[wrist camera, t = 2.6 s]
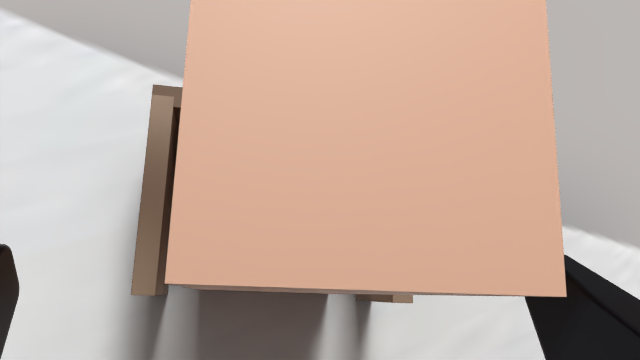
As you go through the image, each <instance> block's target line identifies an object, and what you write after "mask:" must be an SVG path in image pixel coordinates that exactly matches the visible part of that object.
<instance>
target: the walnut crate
mask: <svg viewBox="0 0 640 360" xmlns="http://www.w3.org/2000/svg"><path fill="white" fill-rule="evenodd" d="M182 91H183V88H182V87H172V86H162V85H153V90H152V100H151V109H150V119H149V128H148V137H147V147H146V156H145V166H144V175H143V184H142V194H141V203H140V213H139V222H138V232H137V241H136V250H135V260H134V269H133V279H132V288H131V295H151V296H156V295H168V285H169V284H165V274H166V263H167V252H168V241H169V231H170V220H171V209H172V198H173V188H174V177H175V166H176V156H177V145H178V134H179V123H180V113H181V102H182ZM356 300H359V301H375V302H391V303H413V295H389V294H356Z"/></svg>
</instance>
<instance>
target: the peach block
mask: <svg viewBox="0 0 640 360" xmlns="http://www.w3.org/2000/svg"><path fill="white" fill-rule="evenodd" d="M551 82H552V81H551V67H550V52H549V38H548V25H547V9H546V0H191V6H190V17H189V28H188V38H187V48H186V60H185V70H184V80H183V91H182V102H181V113H180V123H179V134H178V145H177V156H176V166H175V177H174V188H173V198H172V209H171V220H170V231H169V241H168V252H167V263H166V274H165V284H171V285H176V286H182V287H188V288H193V289H199V290H230V291H261V292H292V293H323V294H389V295H462V296H534V297H567V295H566V280H565V266H564V252H563V238H562V223H561V209H560V195H559V181H558V166H557V152H556V139H555V124H554V109H553V97H552V96H553V95H552V83H551Z"/></svg>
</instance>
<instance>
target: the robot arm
mask: <svg viewBox="0 0 640 360" xmlns="http://www.w3.org/2000/svg"><path fill="white" fill-rule="evenodd" d="M564 266H565V280H566V295H567V297H534V296H525V300H526V303H527V306H528V309H529V312H530V315H531V318H532V321H533V324H534V327H535V329H536V332H537V335H538V338H539V341H540V344H541V347H542V350H543V353H544V356H545V359H546V360H640V300H639V299H637V298H636V297H634V296H632V295H631V294H629V293H628V292H626V291H624V290H623V289H621V288H619V287H618V286H616V285H614V284H613V283H611V282H609V281H608V280H606V279H605V278H603V277H601V276H600V275H598V274H596V273H595V272H593V271H591V270H590V269H588V268H586V267H585V266H583V265H581V264H580V263H578V262H577V261H575V260H573V259H572V258H570V257H568V256H567V255H564ZM18 296H19V281H18V277H17V272H16V268H15V264H14V259H13V255H12V251H11V249H10V247H9V246H7V245H5V244H0V359H1V356H2V352H3V349H4V345H5V342H6V338H7V335H8V332H9V328H10V325H11V321H12V318H13V314H14V311H15V307H16V304H17V300H18Z"/></svg>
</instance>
